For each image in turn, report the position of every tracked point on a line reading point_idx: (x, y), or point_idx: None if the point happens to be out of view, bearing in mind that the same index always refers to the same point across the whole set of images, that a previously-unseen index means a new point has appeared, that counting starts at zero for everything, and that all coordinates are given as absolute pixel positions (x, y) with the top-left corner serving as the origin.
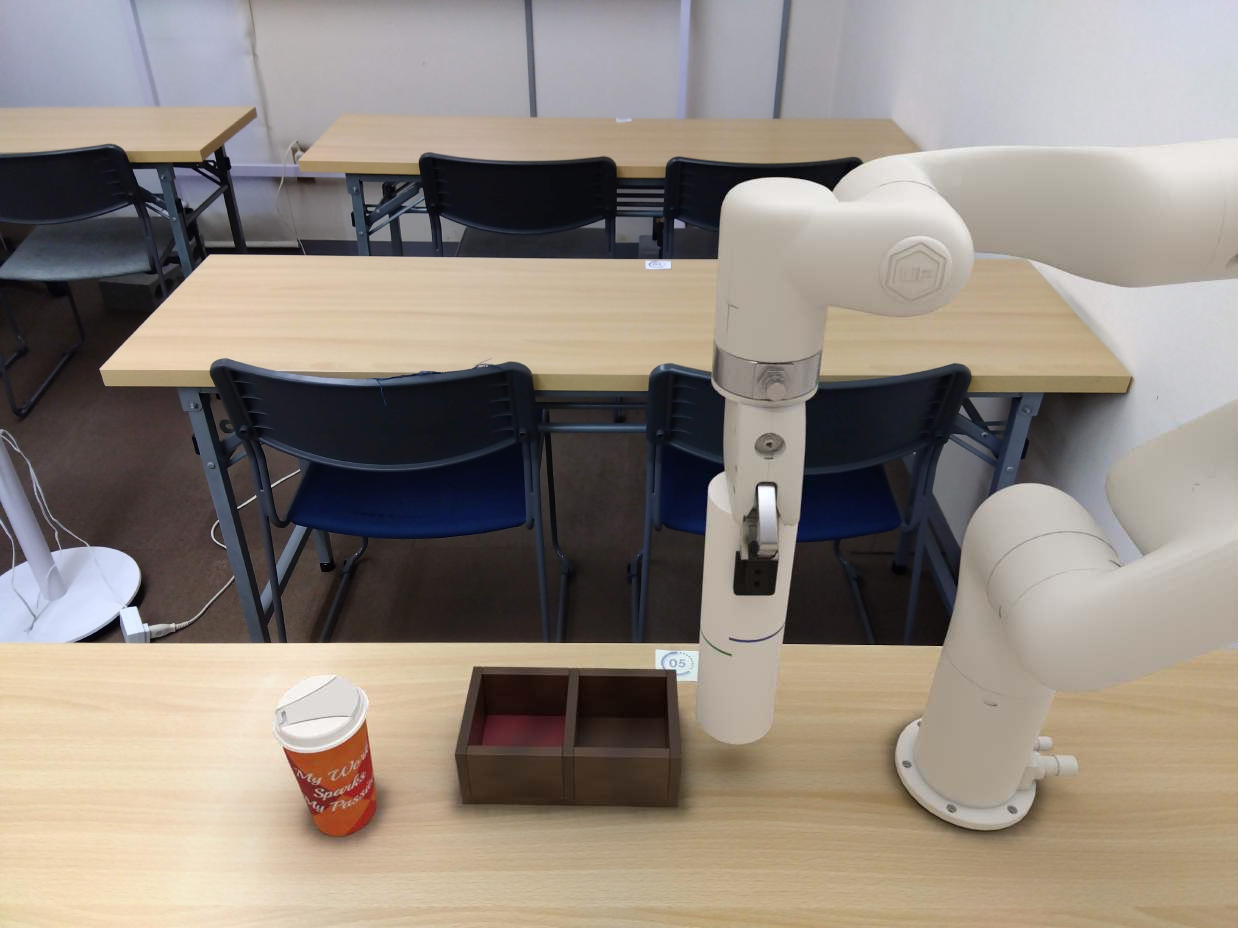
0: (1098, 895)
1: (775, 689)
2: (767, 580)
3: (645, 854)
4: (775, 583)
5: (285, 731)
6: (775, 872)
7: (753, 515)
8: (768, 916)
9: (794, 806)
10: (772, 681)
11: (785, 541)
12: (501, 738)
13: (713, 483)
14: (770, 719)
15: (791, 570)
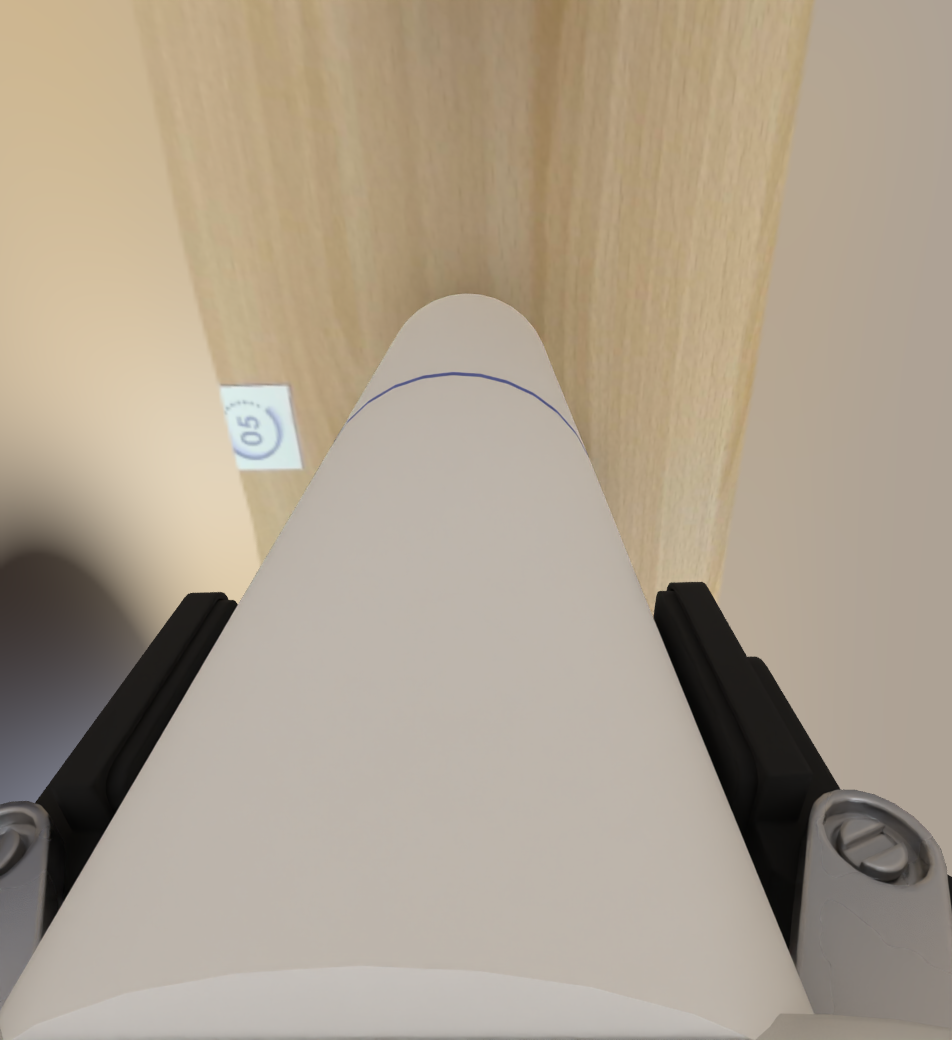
0: None
1: (505, 322)
2: (785, 700)
3: (642, 480)
4: (726, 621)
5: None
6: (691, 280)
7: None
8: (763, 300)
9: (565, 227)
10: (533, 350)
11: (687, 742)
12: None
13: None
14: (511, 310)
15: (517, 480)
